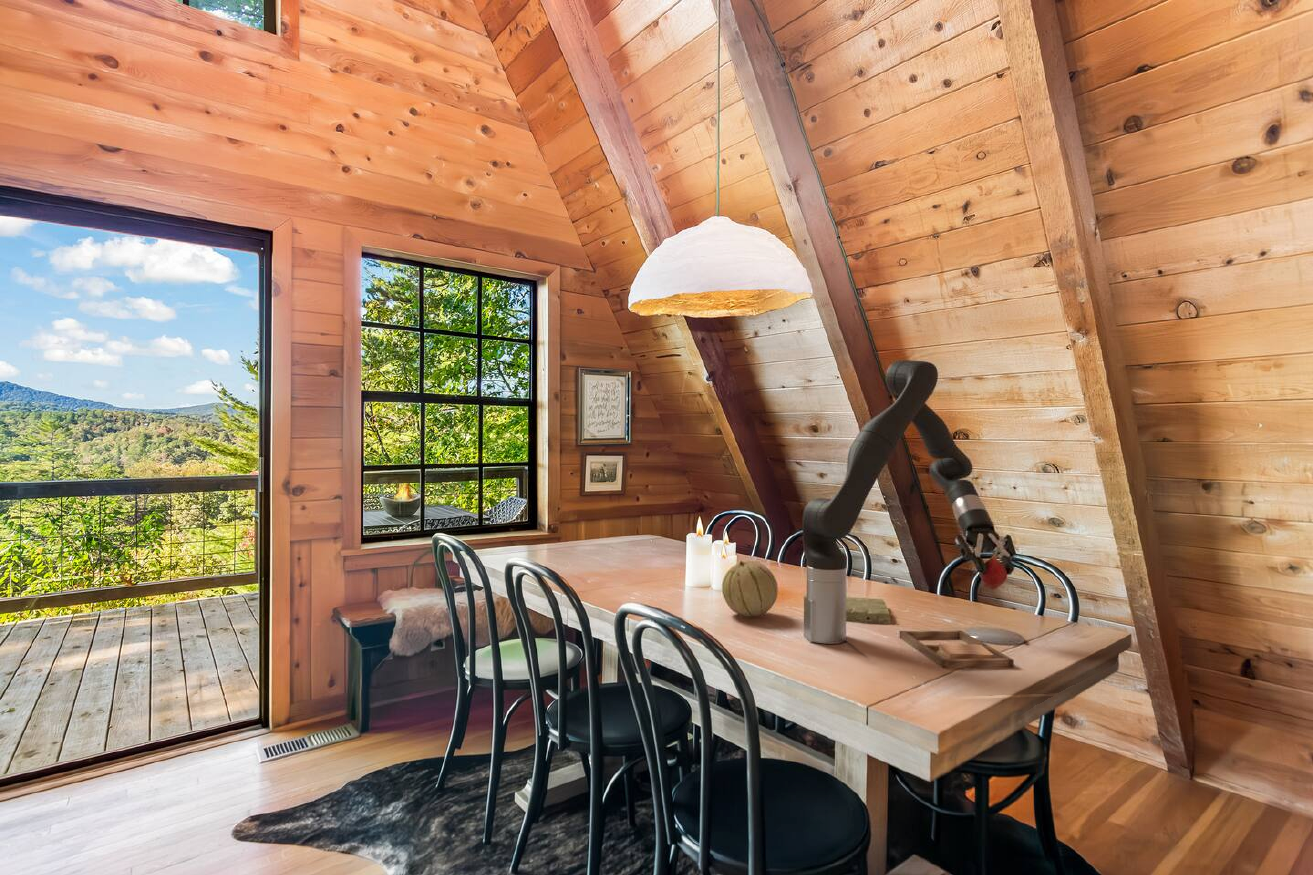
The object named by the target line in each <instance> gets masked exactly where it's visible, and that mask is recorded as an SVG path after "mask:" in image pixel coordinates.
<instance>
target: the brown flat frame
mask: <svg viewBox="0 0 1313 875" xmlns="http://www.w3.org/2000/svg"><path fill="white" fill-rule="evenodd" d="M899 639H901V640H902V641H904V642H905V643H906V644H907V645H909V646H910V647H912V648H914V649H915V650H916V651H918V652H919V653H921V654H922V655H923V656H925V657H926V658H928V659H929V660H931V661H932V662H933V663H935V664H936V665H938V666H939V667H940V668H942V669H993V668H994V669H1000V668H1001V669H1003V668H1004V669H1006V668H1009V669H1011V668H1012V669H1013V668H1014V659H1012V658H1011V657H1010V656H1007V655H1005V654H1004V653H1002V652H1000V651H999V650H996V649H995V648H993V647H991V646H989V645H988V644H987V643H984V642H981V641H979V640H977V639H975V638H973V637H972V636H970V635H968V634H966V633H964V630H900V631H899ZM924 639H925V640H932V639H933V640H935V639H937V640H939V639H941V640H942V639H943V640H944V639H947V640H948V639H955V640H956V639H959V640H961V641H962V642H964V643H963V644H959V645H982V646H983V647H984V648H986V649H987V650H988V651H990V652H991V653H992V654H993V655H994V659H945V658H943V657H942V656H940V655H939V654H937V651H940V650H939V644H923V642H921V641H919V640H924Z"/></svg>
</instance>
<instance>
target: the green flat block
mask: <svg viewBox="0 0 1313 875" xmlns="http://www.w3.org/2000/svg"><path fill="white" fill-rule="evenodd" d="M847 621H848V622H853V623H854V622H855V623H867V624H869V623H871V624H883V625H884V624H886V625H887V624H888V625H891V624H892V623H891V621H892V620H891V615H890V612H889V608H888V606H887V604H886V602H885V601H884V599H882V598H869V597H858V596H857V597H855V596H846V622H847Z"/></svg>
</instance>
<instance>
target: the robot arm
mask: <svg viewBox="0 0 1313 875" xmlns="http://www.w3.org/2000/svg"><path fill="white" fill-rule="evenodd" d="M938 378H939V372H938V368H937V366H936V365H935V364H934V363H932V362H930V361H923V360H911V359H910V360H907V359H905V360H904V359H903V360H901V359H900V360H896V361H894V362H892V363H891V364H890V365H889V366H888V368H887V369H886V372H885V383H886V386H887V389H888V390H889V392H890V394H891V395H892V397H893V398H894V399H895V401H894V402H893V403H892V404H891V405H890V406H888V407H887V408H886V409H884V410H883V411H882V412H880V413H879V414H877V415H876V416H874V417H873V418H871V419H870V420H869V421H868V422H866V424H865V425H864V426H862V428H861V429H860V430H859V432H858V434H857V435H856V437H855V439H854V441H853V442H852V443H851V446H850V447H849V450H848V455H847V463H846V474H845V478H844V480H843V482H842V483H841V486H840V487H839V489H838V491H837V492H836V493H835V495H834V496H833V498H826V497H825V498H824V497H817V498H813V499H811V500H810V501H808V502H807V504H806V505H805V507H804V509H803V510H804V511H803V515H802V543H803V544H802V546H803V553H804V555H805V558H806V595H804V596H803V636H804V637H805V638H806V639H807V640H808V641H809V643H810V642H811V643H819V644H825V645H826V644H827V645H828V644H829V645H836V644H841V643H845V642H846V641H847V621H846V597H847V584H848V583H847V582H848V581H847V577H848V576H847V574H848V572H847V569H848V568H847V565H848V564H847V563H848V561H847V560H848V559H847V556H846V554H845V553H844V552H843V551H842V550H841V549H840V547H839V546H838V544H837V540H841V539H844V538H846V537H847V536H848V535H849V533H851V531H852V529H853V527H854V526H855V524H856V522H857V520H858V518H859V515H860V513H861V511H862V509H863V507H864V505H865V502H866V501H867V500H866V499H867V497H868V496H869V494H870V492H871V491H872V488H873V486H874V485H875V483H876V481H877V479H878V478H879V476H880V474H881V473H882V472H883V469H884V468H885V466H886V465H887V463H888V461H889V460H890V458H891V457H892V455H893V453H894V451H895V450H896V447H897V445H898V444H899V442H900V441H901V439H902V437H903V435H904V434H905V432H906V431H907V429H908V427H910V424H913V425H914V427H915V429H916V431H917V432H918V434H919V436H920V438H921V441H922V443H923V445H924V447H925V449H926V451H927V453H928V455H929V456H930V457H931V458H933V459H936V460H934V461H932V462H931V464H930V465H929V470H928V471H929V474H930V476H931V478H932V480H933V481H934V482H935V483H936V484H937V485H938V486H939V487H940V488H941V489H942V490H943V492H944V493H945V494H946V497H947V498H948V500H949V503H950V505H951V508H952V511H953V514H954V517H955V519H956V523H957V524H958V527H959V528H960V531H961V533H962V535H961V534H957V535H956V537H955V539H954V541H953V543H954V544H955V547H956V548H957V550H958V552H959V553H960V555H961V556H962V558H963V560H964V561H969V560H970V561H971V562H972V563H973V564H974V566H975V569H976V572H978V573H979V574H981V575H985V573H986V572H987V568H986V566H985V564H984V563H985V562H984V559H983V557H981V553H983V552H986V553H988V552H989V553H990V554H992V555H993V556H996V557H997V559H999V561H1001V562H1000V563H1002V564H1003V566H1004V567H1005V569H1006V571H1007V576H1011V575H1012V573H1013V572H1014V571H1015V567H1014V564H1013V562H1012V560H1013V558H1014V557H1015V555H1016V554H1017V552H1016V549H1015V545H1014V541H1013V538H1012V536H1011V535H1010V534H1006V535H1005V536H1003V535H999V534H998V533H997V532H996V531H995V525H994V523H993V520H992V519H991V517H990V514H989V512H988V510H987V508H986V505H985V504H984V503H983V501H982V500H981V498H980V495H979V494H978V491H977V489H976V487H975V486H974V484H973V482H972V481H971V480H968V479H965V478H967V477H969V476H970V475H971V474H972V473H973V464H972V462H971V459H970V458H969V457H968V455H966V454H965V453H964V452H963V451H962V450H961V449H960V447H959V446H957V445H956V442H955V441H954V439H953V436H952V434H951V432H950V430H949V428H948V425H947V424H946V423H945V421H944V420H943V419H942V417H940V415H938V414H937V413H936V411H934V410H933V409H932V408H931V407H930V406H929V405H928V404H927V403H926V402H928V400H929V399H930V397H931V396H932V394H933V393H934V391H935V388H936V386H937V383H938ZM969 546H971V548H970V547H969Z"/></svg>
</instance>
